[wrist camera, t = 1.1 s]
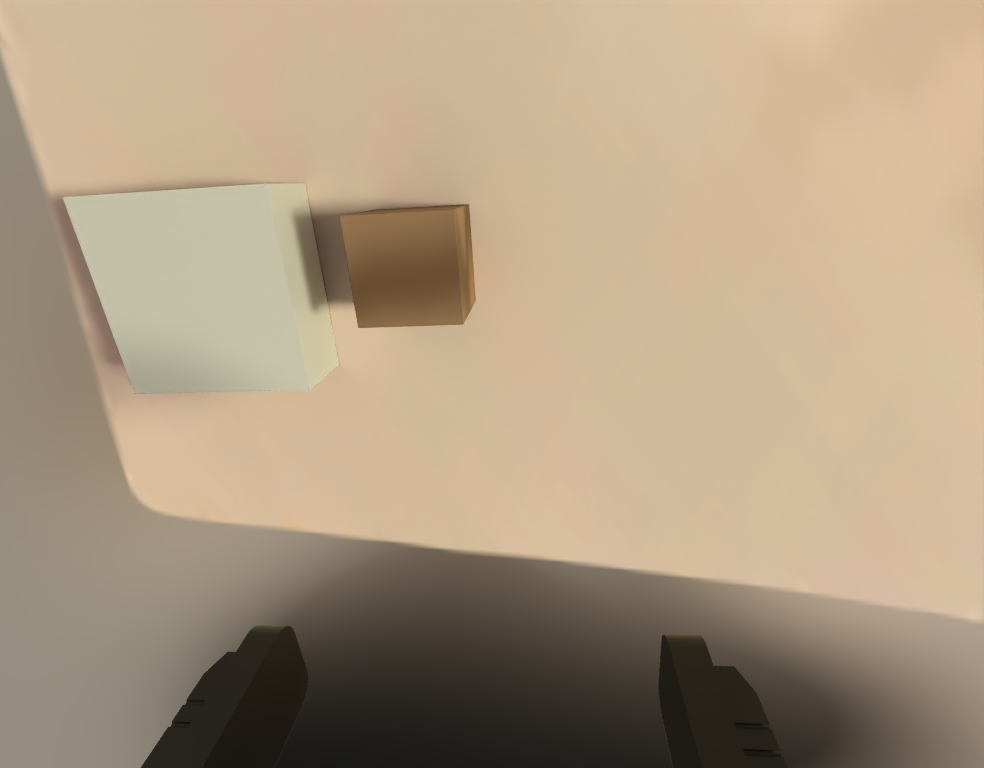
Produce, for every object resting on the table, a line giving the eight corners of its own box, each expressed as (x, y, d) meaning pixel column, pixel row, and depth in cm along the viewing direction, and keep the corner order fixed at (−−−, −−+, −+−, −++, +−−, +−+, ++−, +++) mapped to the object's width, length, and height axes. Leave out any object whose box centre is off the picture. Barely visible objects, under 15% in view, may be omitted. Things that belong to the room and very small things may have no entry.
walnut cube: (375, 209, 26) (339, 215, 21) (469, 204, 25) (453, 209, 21) (388, 303, 28) (358, 328, 23) (475, 300, 27) (463, 324, 22)
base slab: (128, 195, 26) (62, 197, 23) (304, 183, 25) (265, 183, 22) (183, 367, 30) (134, 393, 26) (338, 363, 29) (310, 390, 25)
